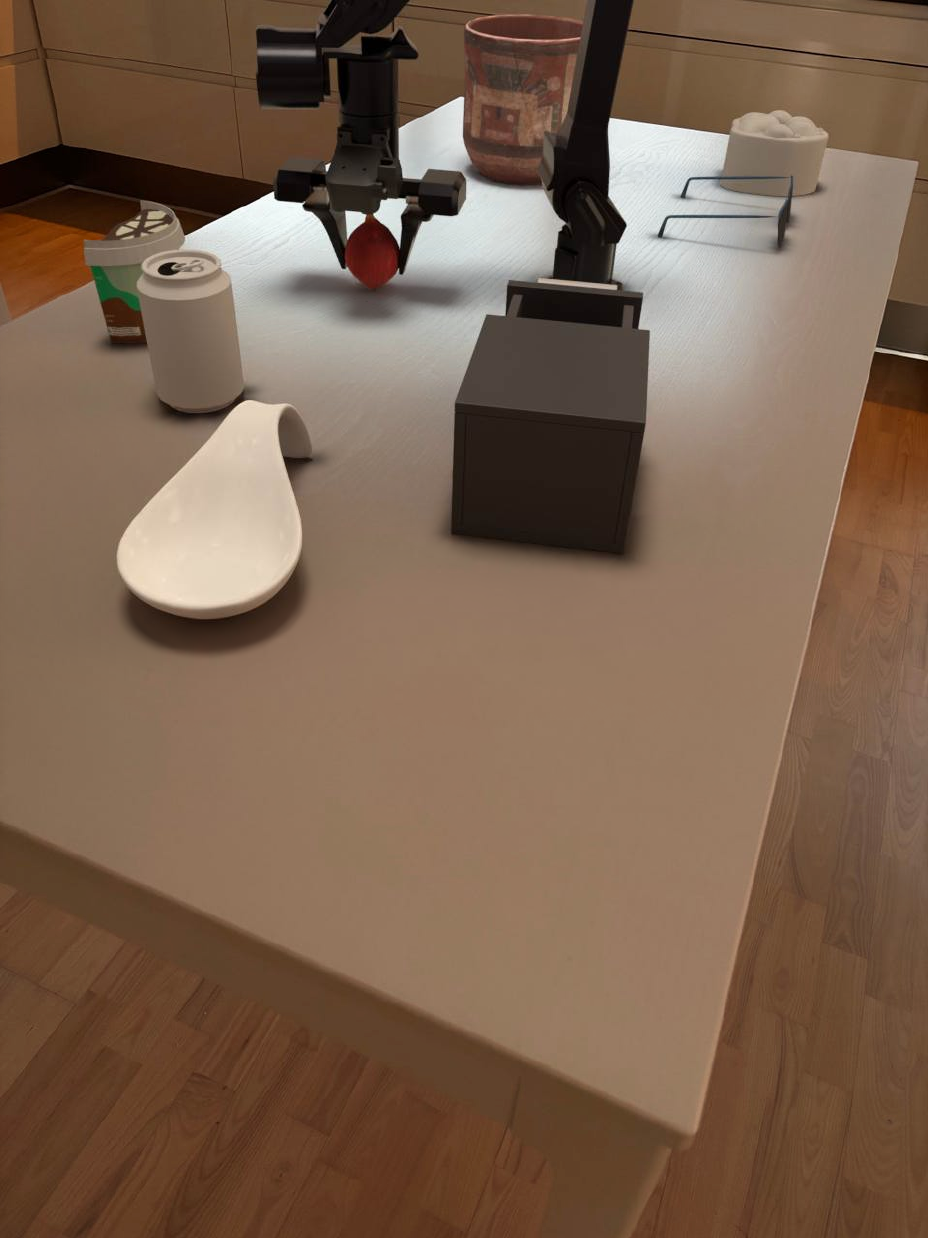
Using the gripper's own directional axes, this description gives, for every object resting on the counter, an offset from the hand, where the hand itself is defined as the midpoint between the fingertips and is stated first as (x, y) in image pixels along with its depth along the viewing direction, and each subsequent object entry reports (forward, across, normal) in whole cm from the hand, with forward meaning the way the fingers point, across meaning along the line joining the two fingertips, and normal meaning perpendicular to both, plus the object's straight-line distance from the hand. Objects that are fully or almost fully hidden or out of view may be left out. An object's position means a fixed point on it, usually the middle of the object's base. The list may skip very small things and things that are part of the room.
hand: (373, 270), depth 105 cm
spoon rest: (+2, +1, -46) cm, 46 cm away
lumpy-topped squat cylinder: (+2, +45, +50) cm, 67 cm away
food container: (+2, -18, -14) cm, 23 cm away
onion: (+2, 0, 0) cm, 2 cm away
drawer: (+1, +22, -23) cm, 32 cm away
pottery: (+2, +11, +46) cm, 47 cm away
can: (+2, -9, -27) cm, 29 cm away
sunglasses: (+2, +39, +31) cm, 50 cm away
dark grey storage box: (+2, +22, -35) cm, 42 cm away
